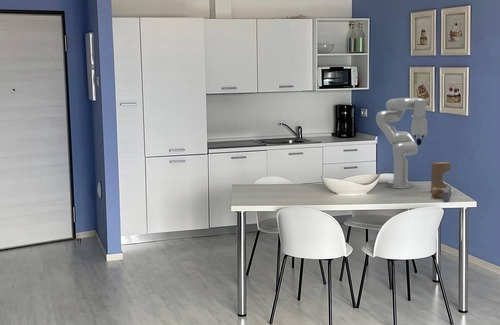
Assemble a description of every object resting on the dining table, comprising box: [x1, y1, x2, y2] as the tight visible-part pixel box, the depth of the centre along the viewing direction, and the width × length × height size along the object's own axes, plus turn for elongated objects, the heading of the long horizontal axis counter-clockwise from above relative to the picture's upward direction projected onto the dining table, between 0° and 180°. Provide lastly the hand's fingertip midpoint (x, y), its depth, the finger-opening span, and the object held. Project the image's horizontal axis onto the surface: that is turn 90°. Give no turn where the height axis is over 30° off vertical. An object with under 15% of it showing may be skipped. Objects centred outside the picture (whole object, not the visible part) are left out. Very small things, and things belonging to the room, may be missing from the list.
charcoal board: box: [442, 185, 452, 203], centre depth 445 cm, size 2×24×6 cm, turn 160°
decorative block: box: [430, 161, 451, 193], centre depth 463 cm, size 11×6×20 cm, turn 96°
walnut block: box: [431, 187, 445, 200], centre depth 446 cm, size 8×8×6 cm
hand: (418, 144), depth 460 cm, fingers closed
